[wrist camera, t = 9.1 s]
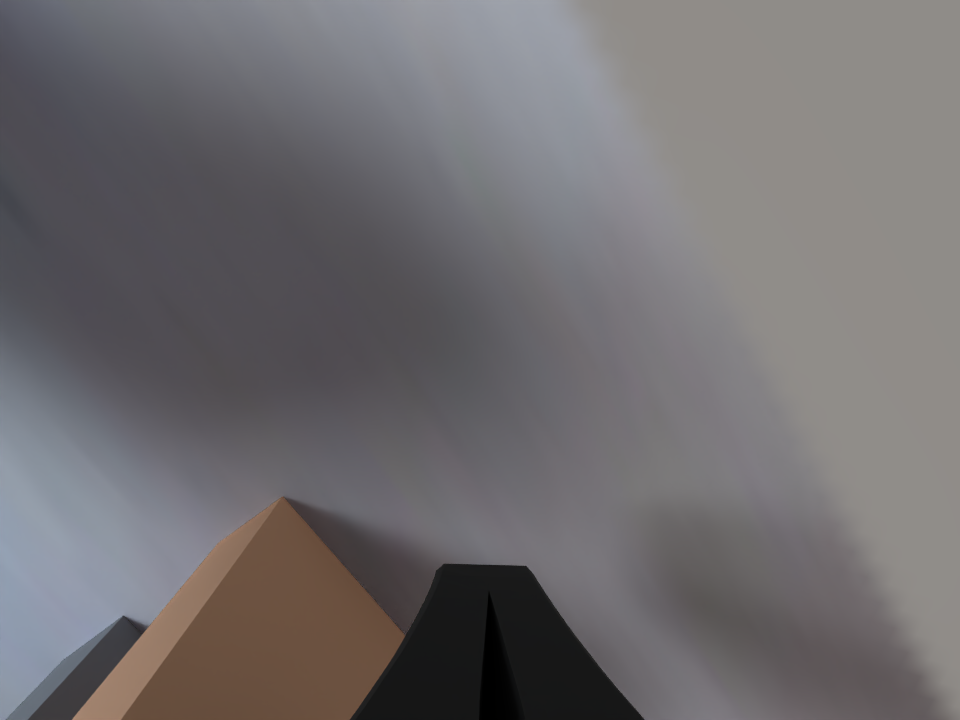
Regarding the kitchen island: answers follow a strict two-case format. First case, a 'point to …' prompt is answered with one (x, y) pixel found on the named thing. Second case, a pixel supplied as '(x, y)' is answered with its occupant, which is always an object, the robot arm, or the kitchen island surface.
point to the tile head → (256, 636)
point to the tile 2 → (78, 675)
